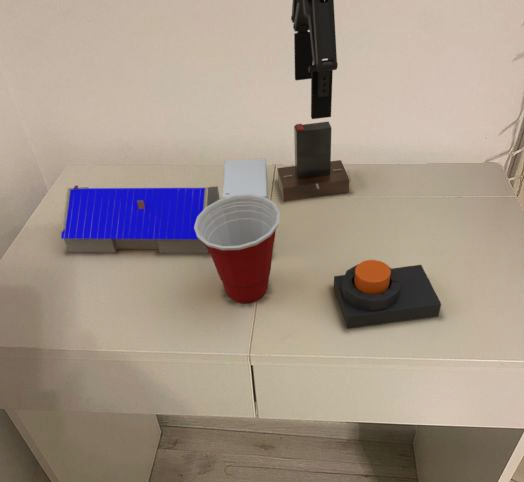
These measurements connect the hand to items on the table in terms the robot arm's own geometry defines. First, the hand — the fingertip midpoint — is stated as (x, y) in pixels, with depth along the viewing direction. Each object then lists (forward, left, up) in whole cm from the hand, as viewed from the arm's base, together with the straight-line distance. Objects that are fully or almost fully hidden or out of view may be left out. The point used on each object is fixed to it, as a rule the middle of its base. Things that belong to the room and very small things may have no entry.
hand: (311, 97), depth 82 cm
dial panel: (0, 0, -15) cm, 15 cm away
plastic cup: (+14, +24, -15) cm, 32 cm away
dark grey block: (0, 0, -13) cm, 13 cm away
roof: (+28, +6, -15) cm, 32 cm away
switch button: (-2, +30, -12) cm, 32 cm away
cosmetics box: (+12, +12, -15) cm, 23 cm away
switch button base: (-4, +30, -15) cm, 34 cm away
